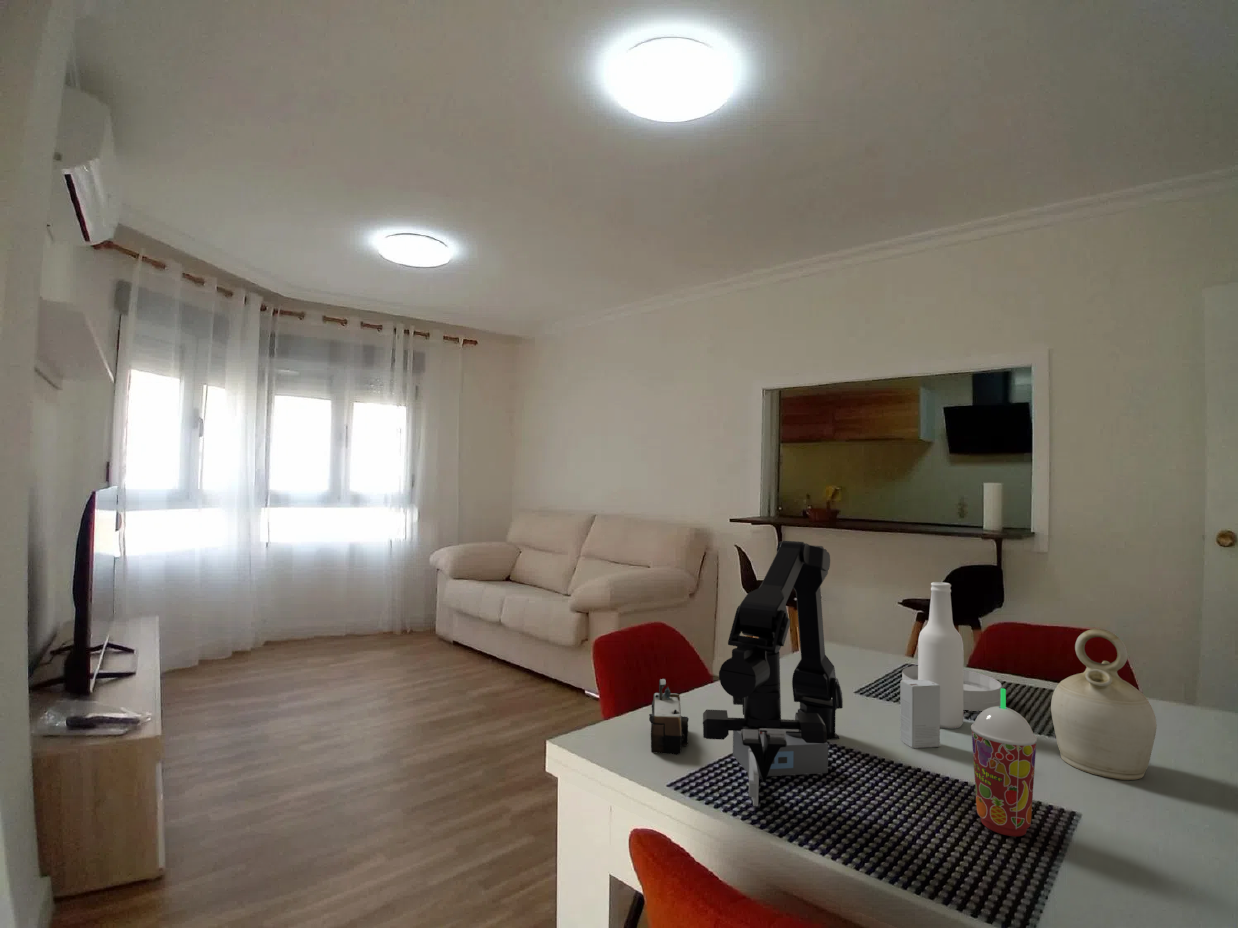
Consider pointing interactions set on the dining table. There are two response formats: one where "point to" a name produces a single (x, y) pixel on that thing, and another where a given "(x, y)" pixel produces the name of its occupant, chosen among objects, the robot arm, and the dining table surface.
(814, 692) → the robot arm
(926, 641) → the alcohol
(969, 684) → the dish
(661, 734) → the camera
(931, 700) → the skincare box
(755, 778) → the side door
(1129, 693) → the jug
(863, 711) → the dining table surface
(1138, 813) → the dining table surface
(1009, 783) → the smoothie
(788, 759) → the grey appliance box
